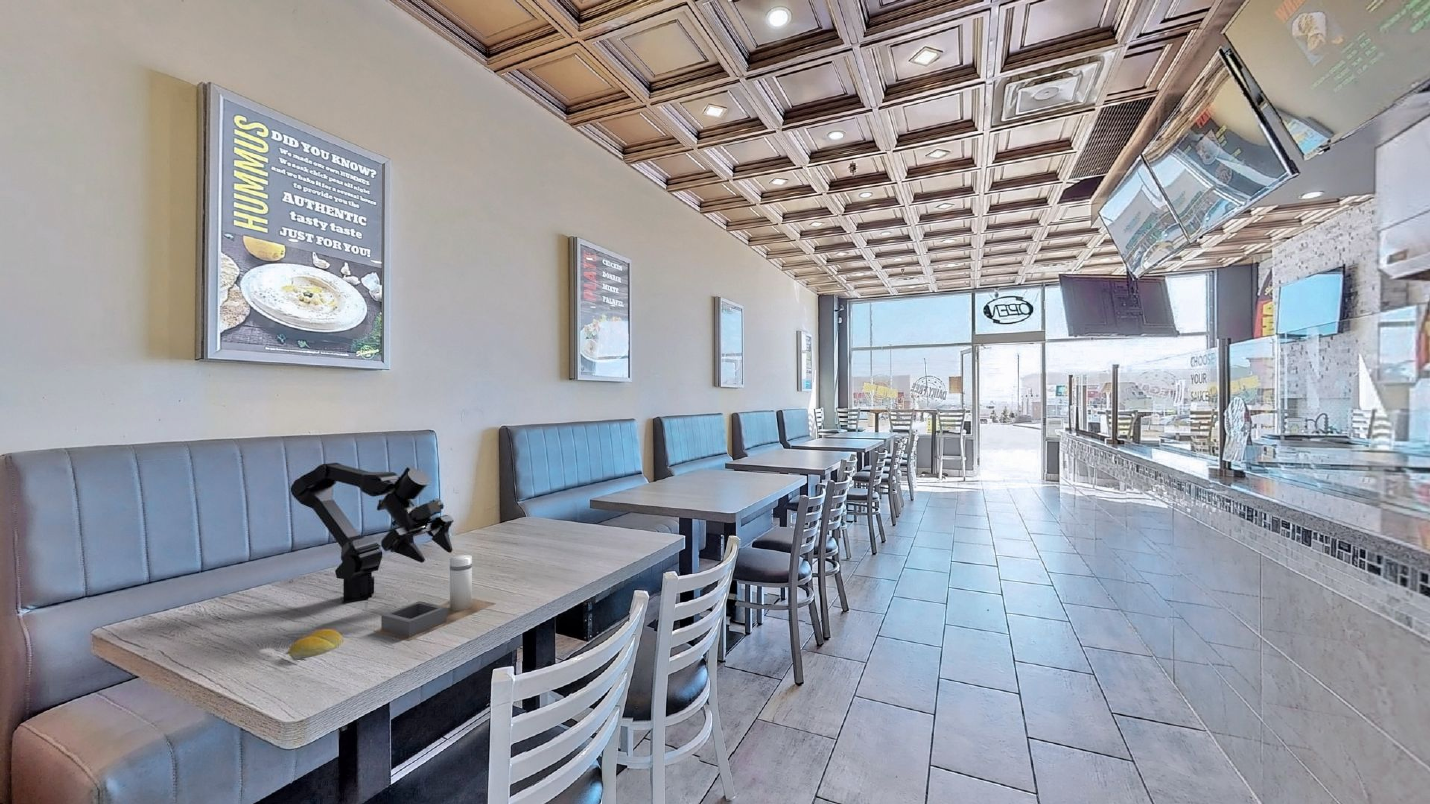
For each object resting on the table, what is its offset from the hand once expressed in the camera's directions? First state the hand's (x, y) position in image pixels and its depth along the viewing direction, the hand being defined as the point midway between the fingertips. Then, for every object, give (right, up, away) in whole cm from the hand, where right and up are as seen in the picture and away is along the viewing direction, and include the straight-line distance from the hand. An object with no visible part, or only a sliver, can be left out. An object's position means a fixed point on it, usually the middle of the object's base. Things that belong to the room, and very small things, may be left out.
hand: (437, 556), depth 137 cm
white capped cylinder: (+7, -12, -2) cm, 14 cm away
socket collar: (+2, -12, -14) cm, 18 cm away
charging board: (+4, -13, -8) cm, 16 cm away
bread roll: (-13, -13, -24) cm, 31 cm away
